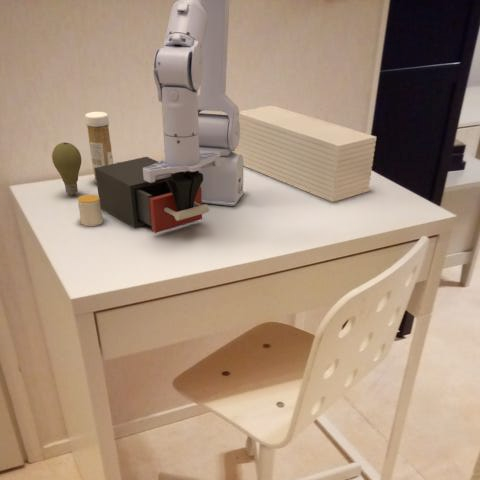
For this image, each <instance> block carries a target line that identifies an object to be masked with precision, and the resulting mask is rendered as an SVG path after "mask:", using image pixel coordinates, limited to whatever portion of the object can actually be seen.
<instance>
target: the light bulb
mask: <svg viewBox="0 0 480 480" xmlns="http://www.w3.org/2000/svg"><path fill="white" fill-rule="evenodd" d="M51 153H52V154H51V160H52V163H53V166H54V168H55V169H56V171H57V172H58V174H59V175H60V177H61V180H62V182H63V183H64V187H65V193H67V195H70V196H71V197H73V196H76V194H77V193H78V192H79V189H78V181H79V174H80V169H81V166H82V154H81V152H80V150H79V149H78V148H77V146H75V145H74V144H73V143H70V142H60V143H58V144H56V146H55V147H53V151H52V152H51Z"/></svg>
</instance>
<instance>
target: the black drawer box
mask: <svg viewBox="0 0 480 480" xmlns="http://www.w3.org/2000/svg"><path fill="white" fill-rule="evenodd" d="M158 162H159V161H158V160H157V159H153V158H152V157H149V156H143V157H139V158H133V159H130V160H125V161H120V162H115V163H113V164H111V165H106V166H101V167H97V168H95V174H96V181H97V184H96V187H97V196H98V197H99V198H100V203H101V210H102V211H105V212H106V213H108V214H110V215H112V216H113V217H115V218H116V219H119V220H120V221H122V222H124V223H125V224H127V225H129V226H131V227H133V228H134V229H136V228H139V227H142V226H146V225H148V224H147V223H145V222H143V221H141V220H139V219H138V218H137V210H136V200H135V190H134V189H138V188H142V187H146V186H150V185H154V184H158V183H162V182H166V181H165V180H164V178H162V179H158V180H155V182H152V183H149V182H147V181H145V180H144V177H143V168H144V167H148V166H151V165H153V164H155V163H158Z"/></svg>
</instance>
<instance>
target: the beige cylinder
mask: <svg viewBox="0 0 480 480" xmlns="http://www.w3.org/2000/svg"><path fill="white" fill-rule="evenodd" d="M77 205H78V211H79V218H80V223H81V225H83V226H84V227H85V226H86V227H96V226H99V225H101V224H102V223H103V222H104V218H103V212H102V211H103V209H101V203H100V198H99V196H98V195H96V194H85V195H81V196H79V197H78V198H77Z"/></svg>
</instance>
